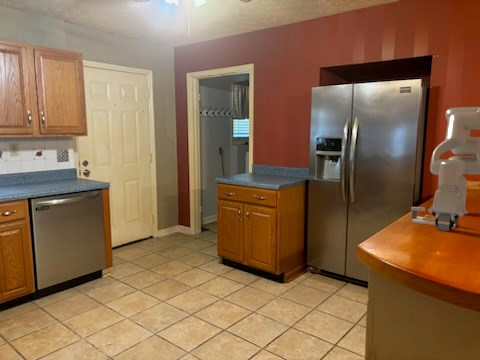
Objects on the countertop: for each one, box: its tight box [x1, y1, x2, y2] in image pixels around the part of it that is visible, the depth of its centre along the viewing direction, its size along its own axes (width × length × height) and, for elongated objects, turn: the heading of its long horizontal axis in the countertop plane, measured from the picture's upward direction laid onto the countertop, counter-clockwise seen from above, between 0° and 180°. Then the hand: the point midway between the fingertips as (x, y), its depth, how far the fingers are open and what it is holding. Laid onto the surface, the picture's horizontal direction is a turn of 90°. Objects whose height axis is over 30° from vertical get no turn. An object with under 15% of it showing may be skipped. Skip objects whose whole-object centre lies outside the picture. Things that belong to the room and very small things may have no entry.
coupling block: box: [437, 213, 451, 232], centre depth 163 cm, size 5×6×7 cm
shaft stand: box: [411, 206, 460, 229], centre depth 175 cm, size 21×10×7 cm, turn 53°
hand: (444, 227), depth 164 cm, fingers closed on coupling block, 4 cm apart
